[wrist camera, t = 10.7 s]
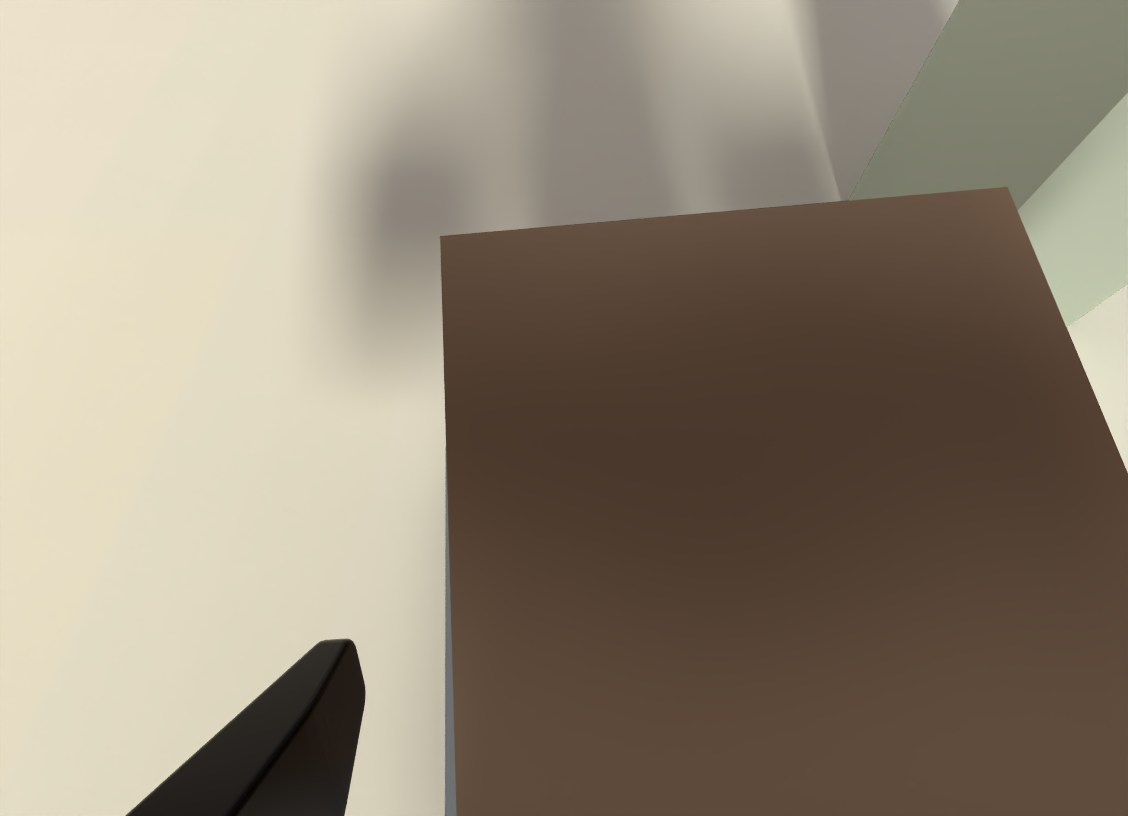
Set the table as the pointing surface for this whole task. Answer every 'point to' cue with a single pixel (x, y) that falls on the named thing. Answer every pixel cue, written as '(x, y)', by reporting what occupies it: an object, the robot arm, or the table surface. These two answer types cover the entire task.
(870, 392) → the walnut pillar
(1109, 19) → the sage pillar
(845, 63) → the table surface
